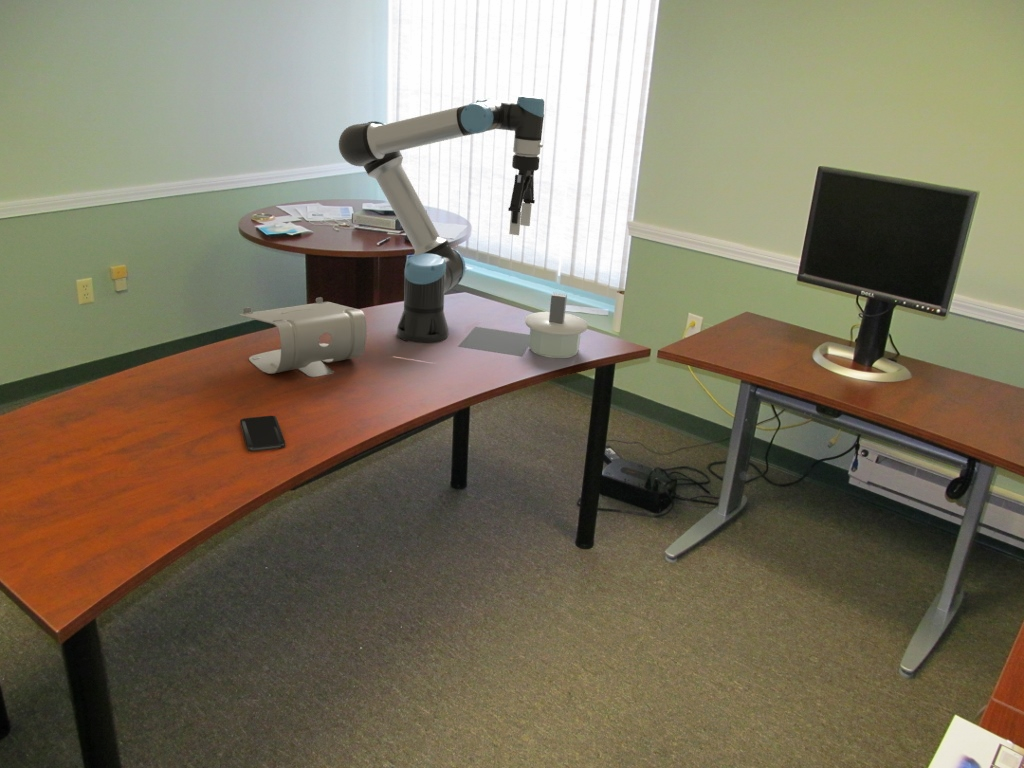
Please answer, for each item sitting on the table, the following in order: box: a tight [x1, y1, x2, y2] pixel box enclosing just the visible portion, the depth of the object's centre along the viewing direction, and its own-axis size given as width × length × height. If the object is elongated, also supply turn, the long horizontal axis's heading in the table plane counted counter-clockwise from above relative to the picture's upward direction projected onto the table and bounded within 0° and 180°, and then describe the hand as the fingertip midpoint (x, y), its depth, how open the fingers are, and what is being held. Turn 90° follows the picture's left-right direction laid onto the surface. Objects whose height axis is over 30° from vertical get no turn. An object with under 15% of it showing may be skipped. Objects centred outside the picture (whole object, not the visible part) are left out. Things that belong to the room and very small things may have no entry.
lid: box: [524, 292, 589, 335], centre depth 236 cm, size 18×18×10 cm
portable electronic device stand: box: [239, 296, 367, 379], centre depth 214 cm, size 26×24×16 cm
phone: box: [240, 415, 286, 453], centre depth 178 cm, size 8×1×15 cm
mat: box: [457, 326, 530, 357], centre depth 243 cm, size 19×19×1 cm
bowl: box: [528, 328, 582, 359], centre depth 239 cm, size 14×14×8 cm
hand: (519, 230), depth 237 cm, fingers open, 13 cm apart
